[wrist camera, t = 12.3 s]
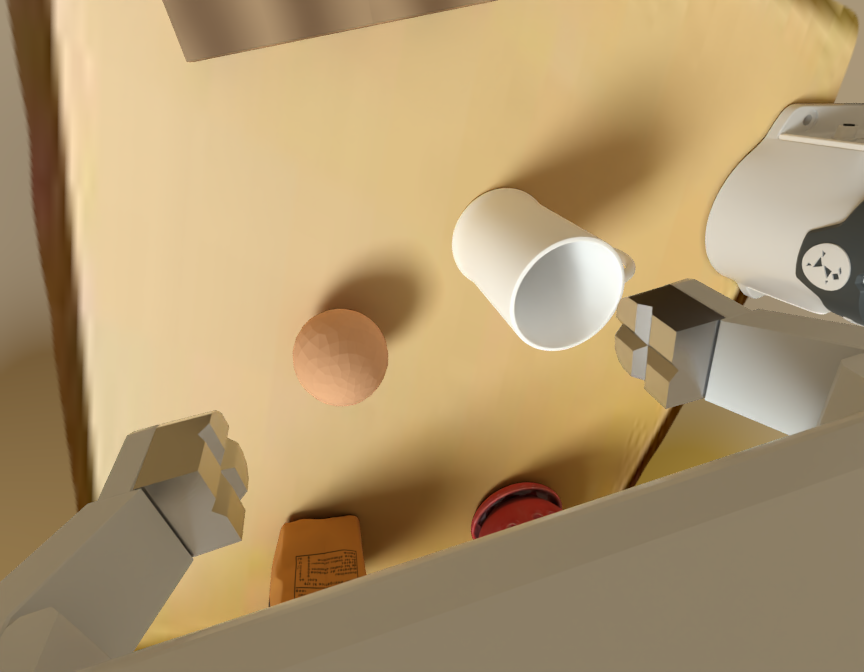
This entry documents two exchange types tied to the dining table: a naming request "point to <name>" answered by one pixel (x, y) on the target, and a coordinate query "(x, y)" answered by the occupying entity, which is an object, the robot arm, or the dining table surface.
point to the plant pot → (514, 507)
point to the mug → (539, 268)
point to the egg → (340, 357)
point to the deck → (282, 21)
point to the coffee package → (315, 557)
